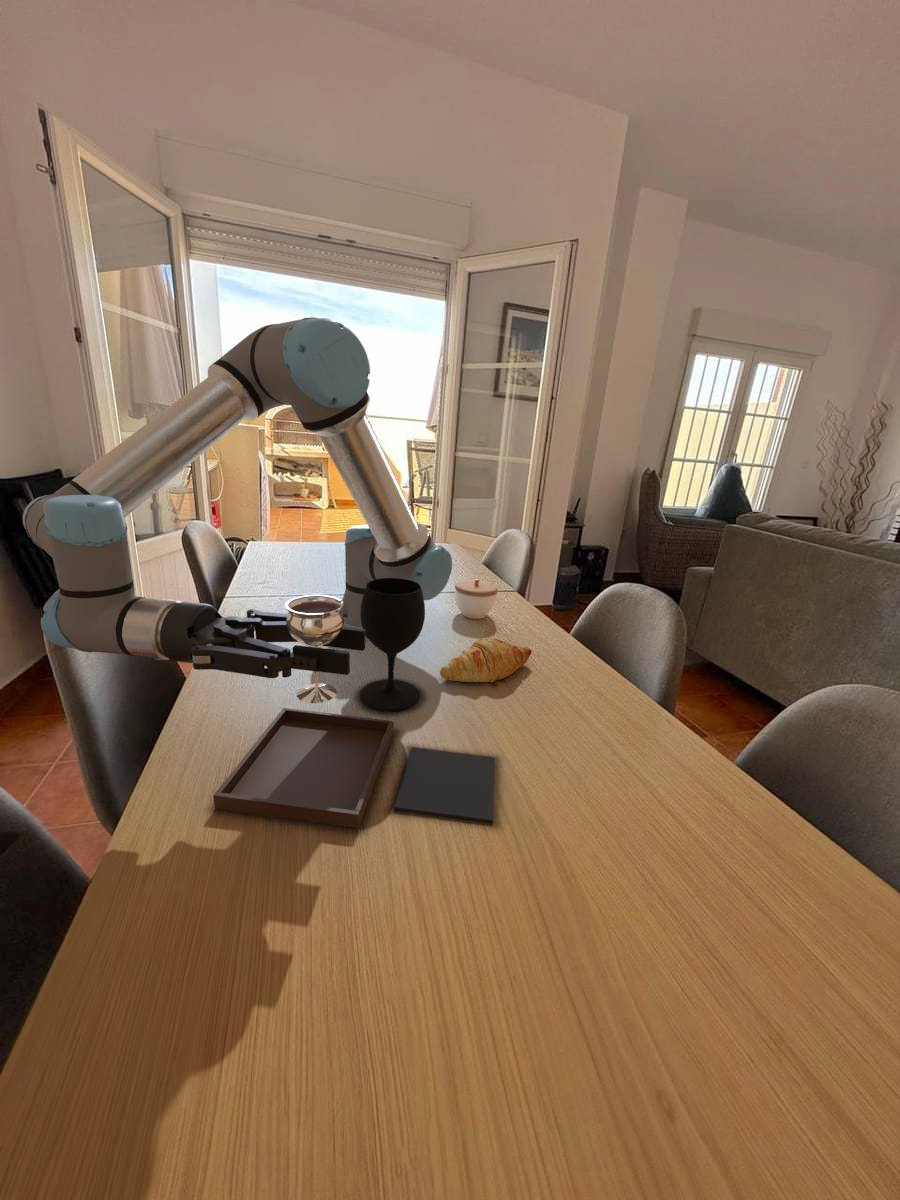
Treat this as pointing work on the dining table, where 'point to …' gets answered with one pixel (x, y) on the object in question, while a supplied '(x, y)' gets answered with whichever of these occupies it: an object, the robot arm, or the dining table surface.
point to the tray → (309, 768)
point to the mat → (447, 785)
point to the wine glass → (391, 637)
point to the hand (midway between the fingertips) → (356, 650)
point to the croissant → (486, 661)
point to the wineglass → (315, 635)
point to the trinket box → (475, 597)
